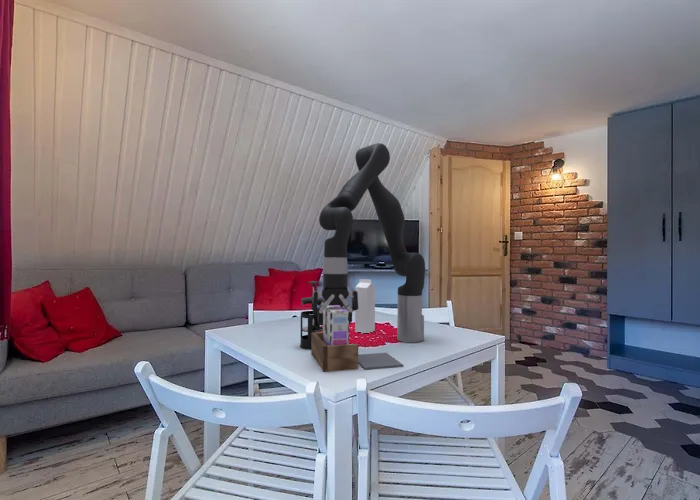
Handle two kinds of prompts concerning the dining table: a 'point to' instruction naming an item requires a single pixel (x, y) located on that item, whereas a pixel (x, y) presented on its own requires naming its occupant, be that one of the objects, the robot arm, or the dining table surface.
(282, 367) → the dining table surface
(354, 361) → the holder
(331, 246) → the robot arm
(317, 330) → the french press
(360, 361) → the mat
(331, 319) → the candy box
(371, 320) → the milk
